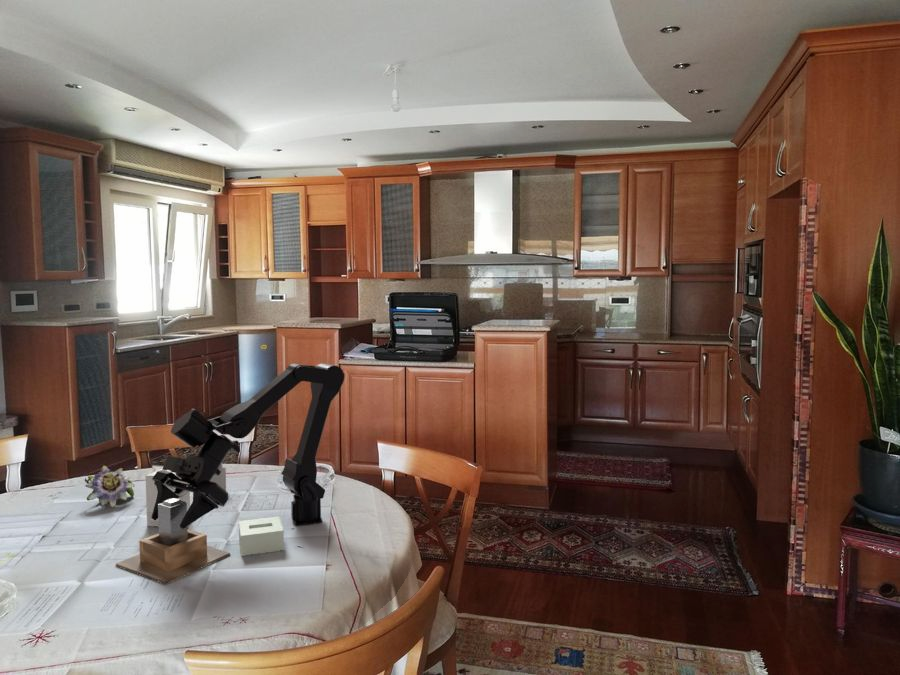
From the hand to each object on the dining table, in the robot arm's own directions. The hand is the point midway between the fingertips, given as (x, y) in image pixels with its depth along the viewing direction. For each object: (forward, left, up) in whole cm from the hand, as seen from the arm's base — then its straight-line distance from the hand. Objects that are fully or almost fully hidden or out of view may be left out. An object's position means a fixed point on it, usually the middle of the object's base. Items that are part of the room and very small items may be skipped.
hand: (167, 523), depth 138 cm
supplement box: (+1, -25, -9) cm, 26 cm away
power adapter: (-10, -44, -9) cm, 46 cm away
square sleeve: (-1, -1, -9) cm, 9 cm away
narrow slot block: (-19, -3, -9) cm, 21 cm away
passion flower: (+17, -45, -9) cm, 49 cm away
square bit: (-1, -1, -8) cm, 8 cm away
